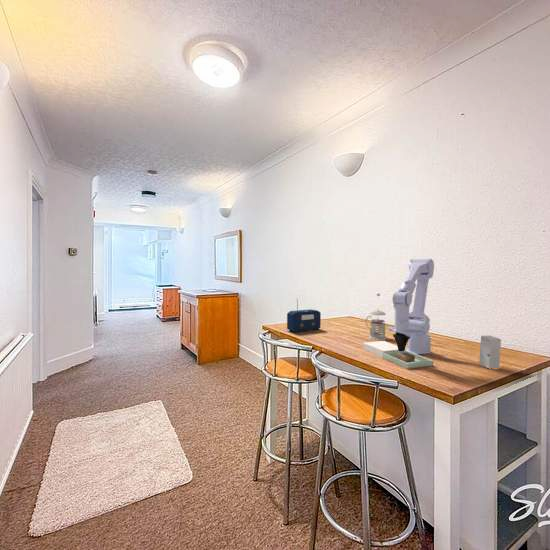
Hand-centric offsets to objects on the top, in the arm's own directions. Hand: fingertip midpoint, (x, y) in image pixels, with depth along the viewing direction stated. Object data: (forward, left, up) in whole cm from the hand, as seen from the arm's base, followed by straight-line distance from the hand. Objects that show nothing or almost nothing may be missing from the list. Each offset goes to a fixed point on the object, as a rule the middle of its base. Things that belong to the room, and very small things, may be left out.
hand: (401, 351), depth 130 cm
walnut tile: (0, +3, -2) cm, 3 cm away
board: (0, -12, -4) cm, 12 cm away
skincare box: (-27, +19, -4) cm, 33 cm away
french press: (-15, -37, -4) cm, 40 cm away
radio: (+16, -67, -4) cm, 69 cm away
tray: (0, +3, -4) cm, 5 cm away
